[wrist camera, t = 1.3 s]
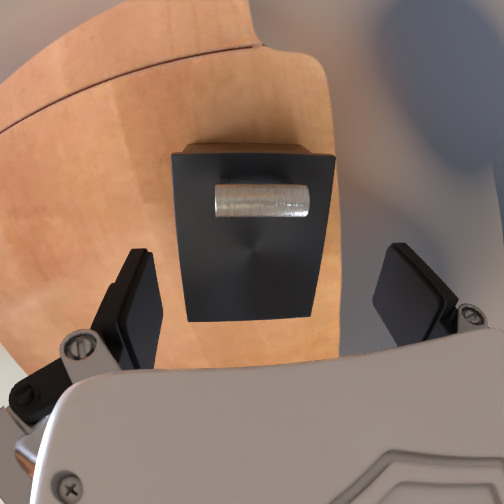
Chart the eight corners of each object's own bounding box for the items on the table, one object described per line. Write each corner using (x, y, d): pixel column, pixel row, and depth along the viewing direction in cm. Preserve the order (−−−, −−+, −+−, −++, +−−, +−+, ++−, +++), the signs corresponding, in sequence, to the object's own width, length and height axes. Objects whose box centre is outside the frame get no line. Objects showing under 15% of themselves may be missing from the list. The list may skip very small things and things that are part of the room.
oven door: (172, 152, 18) (155, 171, 13) (332, 154, 19) (364, 173, 14) (188, 316, 25) (184, 361, 21) (308, 311, 26) (323, 353, 22)
